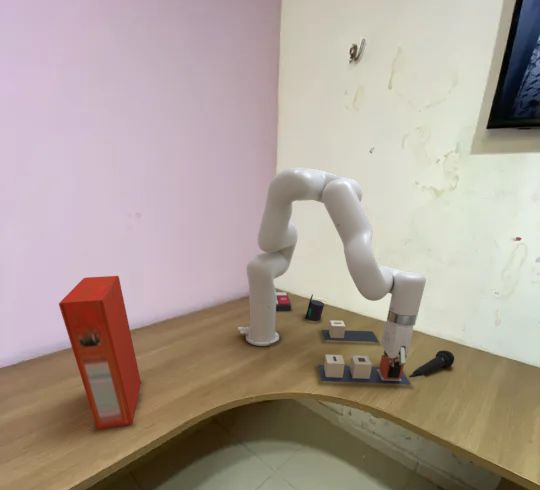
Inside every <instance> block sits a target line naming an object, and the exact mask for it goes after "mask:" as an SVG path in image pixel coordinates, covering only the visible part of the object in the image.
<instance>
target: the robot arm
mask: <svg viewBox="0 0 540 490" xmlns="http://www.w3.org/2000/svg"><path fill="white" fill-rule="evenodd" d="M362 199H363V188H362V186H361V185H360V183H359V182H358V181H357V180H355V179H352V178H349V177H344V176H341V175H338V174H334V173H331V172H328V171H325V170H320V169H316V168H309V167H308V168H307V167H299V166H298V167H290V168H284V169H283V170H280V171H279V172H278V173H276V174H275V175H274V176H273V177H272V179H271V180H270V183H269V186H268V188H267V193H266V199H265V205H264V209H263V212H262V216H261V221H260V224H259V229H258V233H257V245H258V247H259V249H260V250H261V251H262V253H259V254H256V255H254V256H253V257H251V258H250V259H249V260H248V261H247V264H246V277H247V282H248V292H249V293H248V294H249V295H248V299H249V325H247V326H246V327H245V326H238V327H237V331H238V333H240V335H245V340H246V342H248V343H249V344H250V345H254V346H257V347H258V346H259V347H268V346H271V344H273V343H276V342H277V341H280V334H279V333H278V332H277V331H276V326H277V325H276V323H277V322H276V321H277V320H276V319H277V311H276V292H277V289H276V286H275V281H274V280H275V279H277V278H279V277H281V276H283V275H285V274H286V273H287V271H288V270H289V269H290V265H291V262H292V259H293V256H294V252H295V250H296V246H297V242H298V236H299V235H298V233H299V232H298V229H297V227H296V225H295V224H294V222H292V221H291V218H292V215H293V202H295V201H296V202H299V201H301V202H302V201H315V202H319V203H322V204H323V205H324V207H325V209H326V211H327V213H328V215H329V218H330V219H331V221H332V223H333V225H334V228H335V230H336V231H337V234H338V236H339V238H340V240H341V242H342V245H343V246H342V247H343V253H344V258H345V262H346V267H347V270H348V273H349V275H350V277H351V279H352V281H353V283H354V285H355V287H356V289H357V291H358V293H359V294H360V295H361V296H362V297H363V298H364V299H366V300H368V301H372V302H375V301H380V300H382V299H384V298H385V297H386V296H387V295H388V294H390V295H391V297H390V302H389V306H388V310H387V317H386V322H385V325H384V328H383V331H382V337H381V341H380V344H381V346H382V348H383V355H388V356H389V357H390V358H392V362H391V365H390V366H389V371H388V375H387V376H388V377H389V378H398V377H399V375H400V370H401V367H402V366H403V365H404V366H406V363H407V362H406V359H408V356H409V353H410V349H411V344H412V338H413V333H414V332H413V330H414V327H415V326H416V323H417V321H418V320H417V319H418V316H419V310H420V307H421V302H422V299H423V295H424V291H425V286H426V281H427V280H426V277H425V275H424V274H422V273H420V272H417V271H411V270H410V271H408V270H407V271H405V270H404V271H403V270H400V269H397V268H395V267H391V266H386V265H380V266H379V264H378V263H377V260H376V257H375V254H374V250H373V242H372V241H373V234H374V233H373V226H372V224H371V222H370V220H369V218H368V216H367V213H366V211H365V209H364V207H363V205H362ZM395 359H399V361H396V362H395Z"/></svg>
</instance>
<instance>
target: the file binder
mask: <svg viewBox="0 0 540 490" xmlns="http://www.w3.org/2000/svg"><path fill="white" fill-rule="evenodd" d="M122 290H123V289H122V285H121V280H120V277H119V275H109V276H106V275H105V276H90V277H88V276H87V277H83V278H82V279H81V280H80V281H79V282H78V283H77V284H76V285H75V286H74V287H73V288H72V289H71V290H70V291H69V292H68V293H67V294H66V295H65V296H64V298H62V300H60V301H59V302H58V307H59V310H60V312H61V316H62V320H63V322H64V326H65V329H66V333H67V335H68V339H69V342H70V345H71V348H72V352H73V355H74V358H75V361H76V365H77V368H78V371H79V374H80V378H81V381H82V384H83V387H84V391H85V394H86V397H87V400H88V403H89V407H90V410H91V413H92V416H93V420H94V423H95V426H96V429H97V430H99V431H100V430H105V429H111V428H117V427H123V426H131V425H132V424H133V423H134V419H135V413H136V407H137V404H138V399H139V393H140V388H141V383H142V381H141V377H140V371H139V367H138V362H137V357H136V352H135V348H134V347H135V346H134V343H133V339H132V334H131V329H130V328H131V327H130V324H129V320H128V319H129V318H128V314H127V310H126V304H125V300H124V299H125V298H124V295H123V291H122Z"/></svg>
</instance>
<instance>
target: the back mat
mask: <svg viewBox="0 0 540 490" xmlns="http://www.w3.org/2000/svg"><path fill="white" fill-rule="evenodd" d="M321 333H322V337H323V340H324V341H334V342H358V343H359V342H364V343H379V340H378V338H377V336H376V335H375V333H374V331H371V330H346V329H345V333H344V338H330V335H329V329H321Z"/></svg>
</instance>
